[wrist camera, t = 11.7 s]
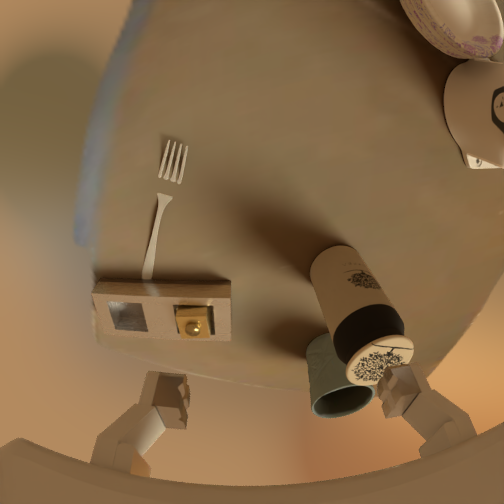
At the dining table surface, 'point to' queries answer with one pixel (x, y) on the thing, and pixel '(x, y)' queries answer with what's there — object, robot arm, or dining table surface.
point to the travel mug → (358, 316)
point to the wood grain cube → (194, 321)
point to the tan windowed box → (160, 306)
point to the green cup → (332, 382)
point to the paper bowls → (458, 25)
